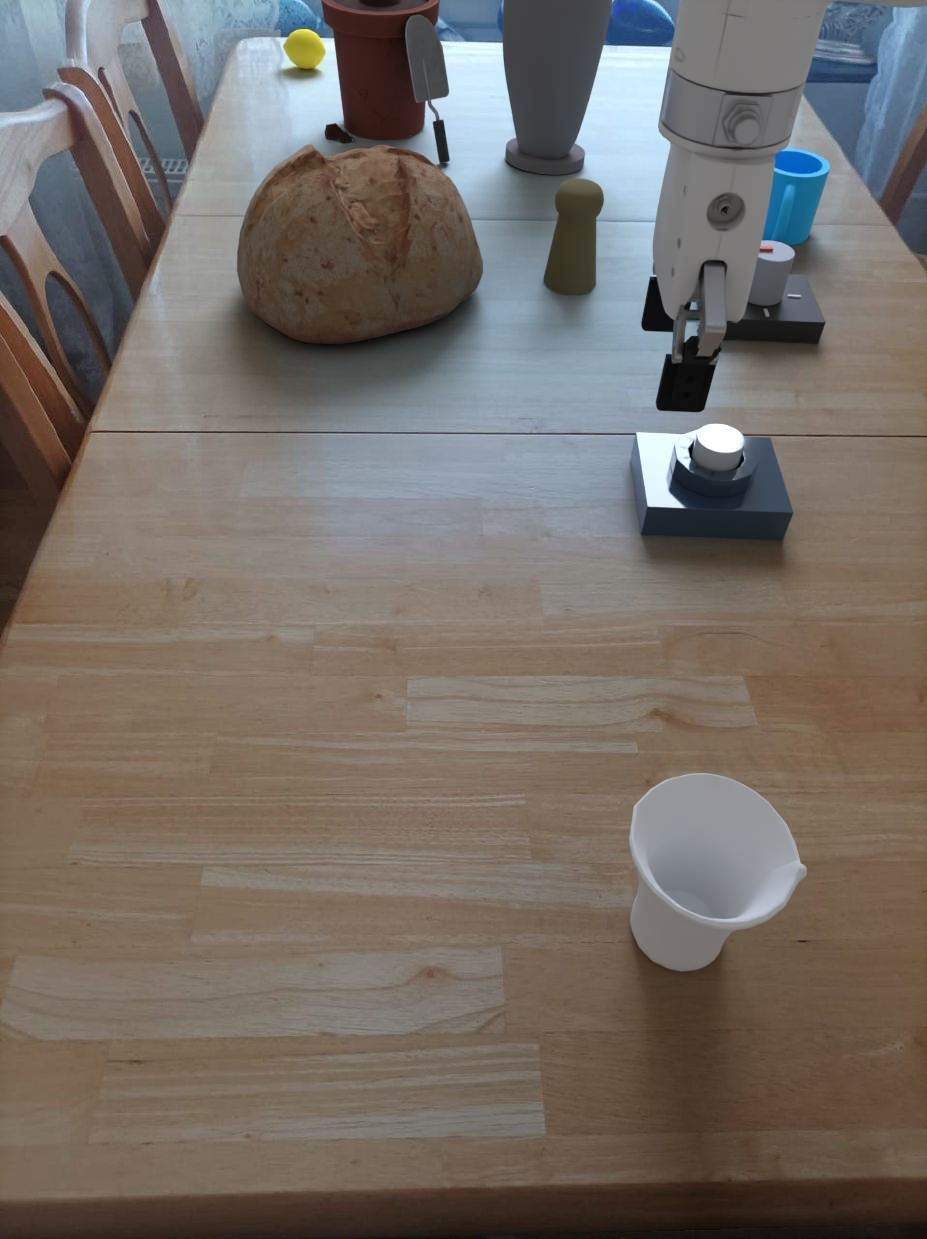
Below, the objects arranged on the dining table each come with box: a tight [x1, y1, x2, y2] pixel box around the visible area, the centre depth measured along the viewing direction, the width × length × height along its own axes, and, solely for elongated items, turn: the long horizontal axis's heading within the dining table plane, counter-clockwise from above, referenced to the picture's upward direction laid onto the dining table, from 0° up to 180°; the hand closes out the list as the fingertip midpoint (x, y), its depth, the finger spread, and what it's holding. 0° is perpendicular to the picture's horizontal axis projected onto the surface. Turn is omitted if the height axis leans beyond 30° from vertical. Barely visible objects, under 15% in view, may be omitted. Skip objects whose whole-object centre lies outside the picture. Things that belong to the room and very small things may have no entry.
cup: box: [628, 772, 808, 972], centre depth 52 cm, size 9×9×10 cm
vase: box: [502, 0, 613, 176], centre depth 115 cm, size 13×13×35 cm
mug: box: [762, 147, 831, 246], centre depth 112 cm, size 12×8×8 cm
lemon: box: [282, 28, 326, 70], centre depth 147 cm, size 7×5×5 cm
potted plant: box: [320, 0, 451, 164], centre depth 124 cm, size 18×22×25 cm
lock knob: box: [748, 240, 796, 306], centre depth 99 cm, size 5×5×5 cm
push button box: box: [629, 428, 794, 542], centre depth 80 cm, size 12×10×5 cm
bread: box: [236, 143, 484, 345], centre depth 98 cm, size 26×23×15 cm
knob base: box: [695, 273, 827, 344], centre depth 102 cm, size 12×10×3 cm
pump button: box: [692, 423, 745, 472], centre depth 78 cm, size 4×4×2 cm
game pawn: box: [542, 177, 605, 296], centre depth 103 cm, size 6×6×11 cm
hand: (670, 367), depth 66 cm, fingers open, 9 cm apart
